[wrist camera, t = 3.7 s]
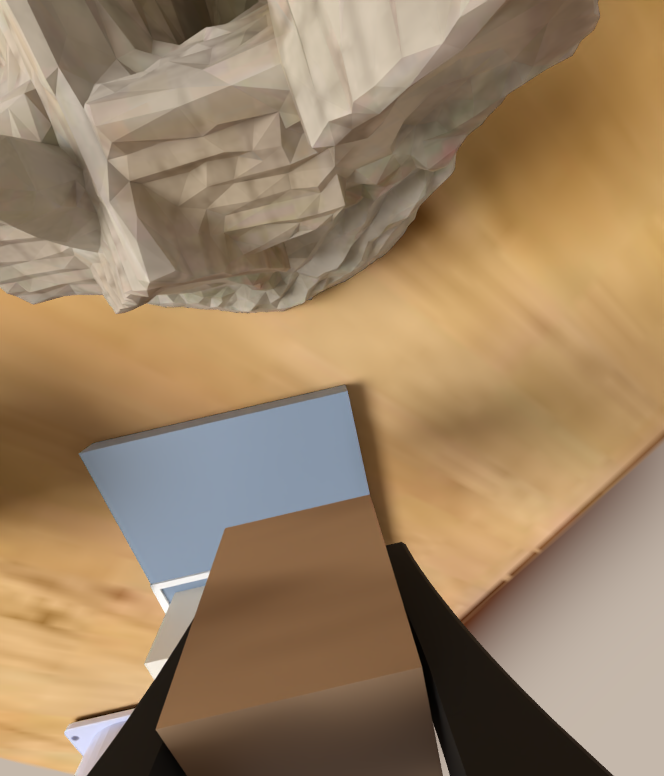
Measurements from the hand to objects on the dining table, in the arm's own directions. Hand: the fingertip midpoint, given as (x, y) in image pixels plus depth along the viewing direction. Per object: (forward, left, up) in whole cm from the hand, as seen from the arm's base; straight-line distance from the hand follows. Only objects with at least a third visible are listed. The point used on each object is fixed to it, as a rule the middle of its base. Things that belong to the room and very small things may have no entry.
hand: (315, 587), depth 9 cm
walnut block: (0, 0, -1) cm, 1 cm away
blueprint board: (-5, +4, -8) cm, 10 cm away
